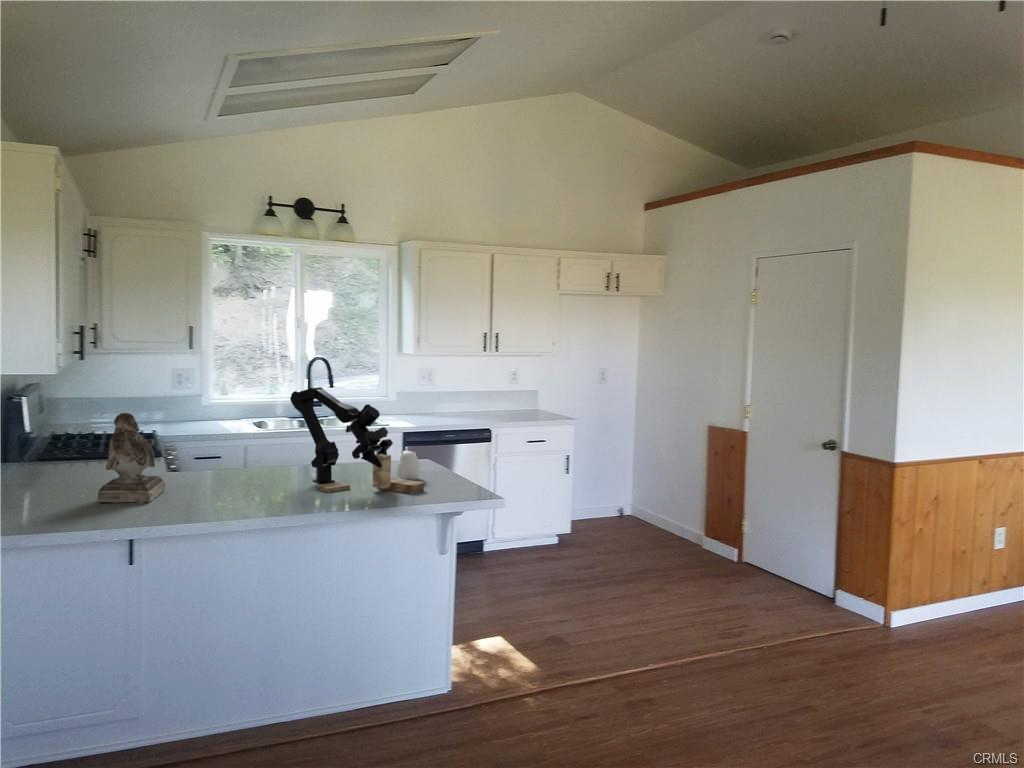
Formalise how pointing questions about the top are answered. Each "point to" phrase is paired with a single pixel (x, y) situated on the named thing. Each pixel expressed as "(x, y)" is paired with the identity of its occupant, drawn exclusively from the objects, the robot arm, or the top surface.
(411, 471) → the figurine
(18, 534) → the top surface
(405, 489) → the plank stack
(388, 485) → the upright offcut
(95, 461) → the top surface
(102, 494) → the sculpture
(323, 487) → the loose offcut
